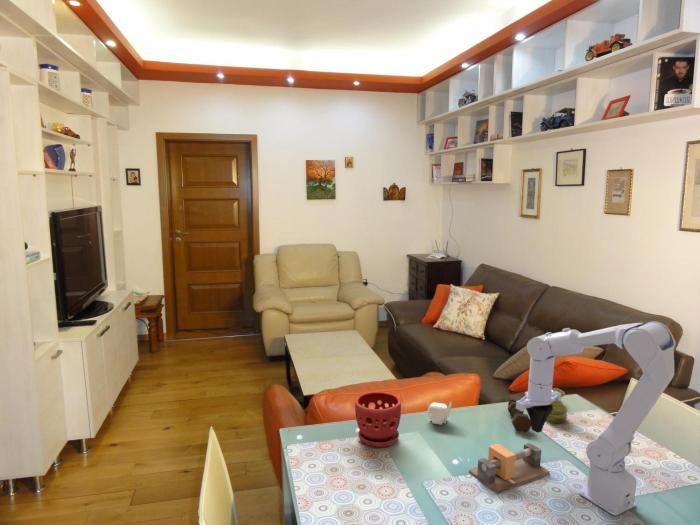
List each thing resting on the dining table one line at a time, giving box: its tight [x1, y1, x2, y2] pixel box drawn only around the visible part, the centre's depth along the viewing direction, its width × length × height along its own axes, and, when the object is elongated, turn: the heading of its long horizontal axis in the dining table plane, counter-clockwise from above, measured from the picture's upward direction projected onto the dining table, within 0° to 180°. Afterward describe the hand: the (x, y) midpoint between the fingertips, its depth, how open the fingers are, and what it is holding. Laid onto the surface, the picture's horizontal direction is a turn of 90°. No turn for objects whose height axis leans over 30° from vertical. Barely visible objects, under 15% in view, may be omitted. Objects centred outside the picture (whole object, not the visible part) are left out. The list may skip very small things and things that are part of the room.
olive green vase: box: [545, 387, 569, 425], centre depth 157 cm, size 7×8×10 cm
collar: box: [487, 443, 516, 480], centre depth 126 cm, size 6×3×6 cm, turn 29°
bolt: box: [507, 399, 532, 433], centre depth 157 cm, size 6×5×15 cm
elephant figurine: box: [427, 397, 453, 425], centre depth 154 cm, size 8×10×7 cm
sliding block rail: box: [468, 442, 551, 494], centre depth 128 cm, size 10×18×5 cm, turn 119°
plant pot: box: [354, 391, 402, 448], centre depth 143 cm, size 13×13×12 cm
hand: (536, 430), depth 131 cm, fingers closed
